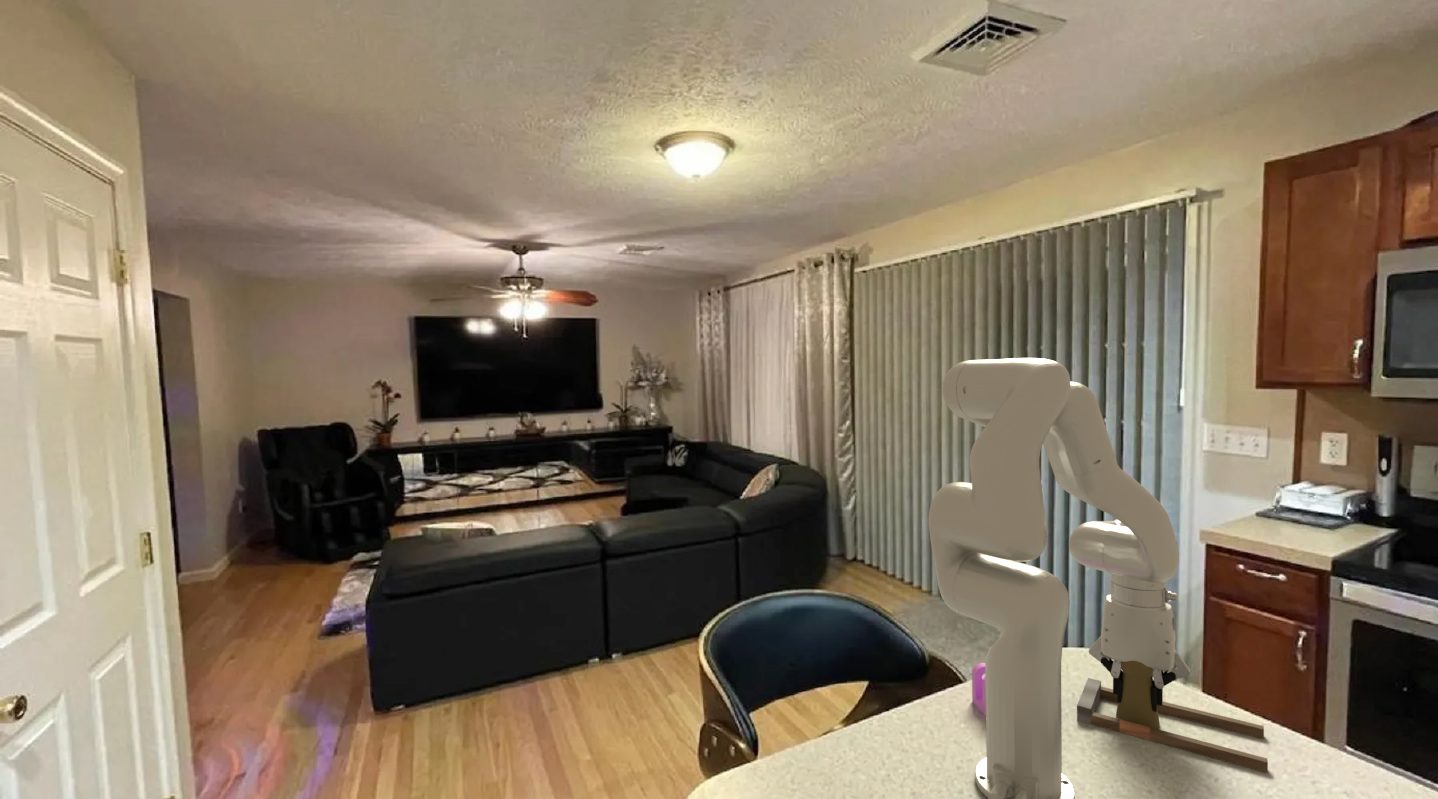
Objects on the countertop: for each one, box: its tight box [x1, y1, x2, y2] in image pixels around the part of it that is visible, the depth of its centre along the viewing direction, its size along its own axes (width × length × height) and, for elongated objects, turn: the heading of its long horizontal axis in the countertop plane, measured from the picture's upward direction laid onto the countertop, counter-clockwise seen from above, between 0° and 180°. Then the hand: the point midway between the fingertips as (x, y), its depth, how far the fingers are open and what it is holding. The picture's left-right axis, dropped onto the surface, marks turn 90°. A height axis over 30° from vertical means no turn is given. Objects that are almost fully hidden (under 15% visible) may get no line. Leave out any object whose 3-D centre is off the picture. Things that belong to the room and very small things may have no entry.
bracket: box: [971, 662, 986, 718], centre depth 110 cm, size 13×6×7 cm, turn 91°
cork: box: [1115, 661, 1161, 729], centre depth 105 cm, size 6×6×11 cm
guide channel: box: [1076, 677, 1269, 773], centre depth 103 cm, size 11×24×2 cm, turn 52°
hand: (1137, 702), depth 105 cm, fingers closed on cork, 4 cm apart
